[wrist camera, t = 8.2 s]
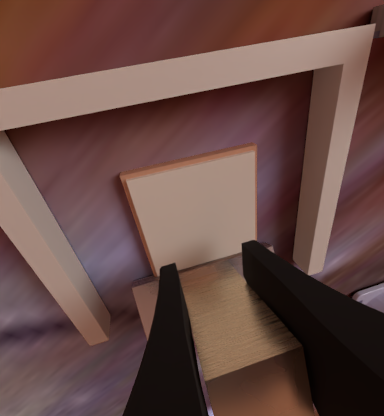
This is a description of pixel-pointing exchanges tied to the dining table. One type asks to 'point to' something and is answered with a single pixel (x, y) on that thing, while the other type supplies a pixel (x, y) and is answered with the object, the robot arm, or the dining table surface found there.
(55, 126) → the dining table surface
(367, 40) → the frame
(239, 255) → the scraper
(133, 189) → the tile
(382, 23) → the caliper
